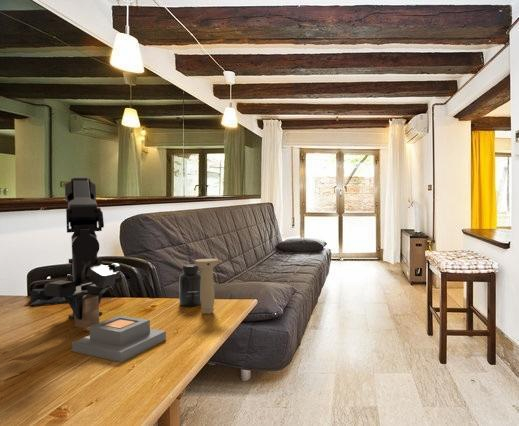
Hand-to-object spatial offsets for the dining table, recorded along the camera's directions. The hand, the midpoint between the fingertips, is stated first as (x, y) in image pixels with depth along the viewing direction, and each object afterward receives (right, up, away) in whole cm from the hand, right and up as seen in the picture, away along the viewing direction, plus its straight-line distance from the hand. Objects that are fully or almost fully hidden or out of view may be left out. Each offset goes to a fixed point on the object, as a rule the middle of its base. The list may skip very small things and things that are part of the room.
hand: (86, 316), depth 102 cm
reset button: (+12, -2, -10) cm, 16 cm away
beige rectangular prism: (0, -2, 0) cm, 2 cm away
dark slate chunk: (-20, -3, +34) cm, 39 cm away
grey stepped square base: (+12, -4, -10) cm, 16 cm away
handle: (+28, -3, +14) cm, 32 cm away
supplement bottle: (+22, -2, +24) cm, 33 cm away
